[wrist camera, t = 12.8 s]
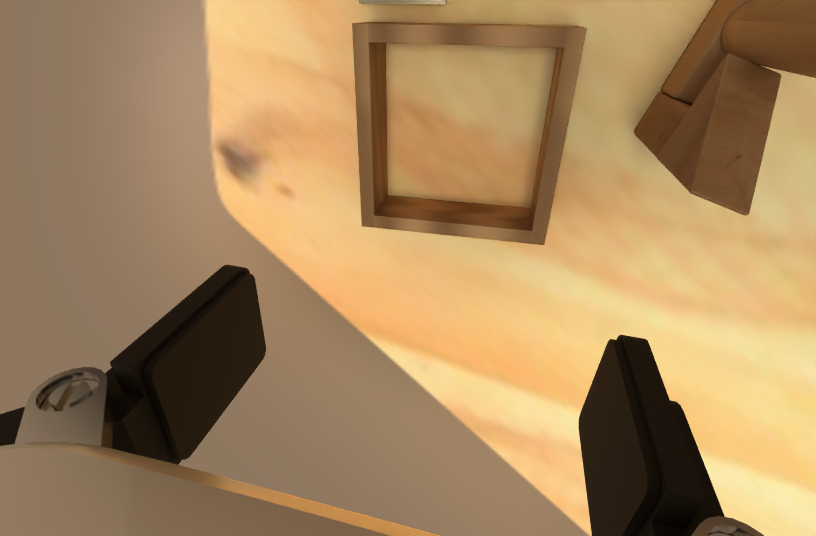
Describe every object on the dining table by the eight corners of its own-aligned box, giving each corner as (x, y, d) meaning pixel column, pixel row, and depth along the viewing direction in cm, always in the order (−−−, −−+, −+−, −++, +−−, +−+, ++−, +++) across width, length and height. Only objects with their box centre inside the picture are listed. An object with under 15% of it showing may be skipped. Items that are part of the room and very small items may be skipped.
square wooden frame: (577, 25, 33) (586, 28, 29) (541, 221, 42) (544, 245, 37) (371, 22, 36) (352, 23, 32) (376, 205, 44) (361, 226, 40)
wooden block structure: (631, 133, 36) (715, 221, 21) (722, -13, 30) (930, -35, 15) (671, 150, 36) (785, 250, 21) (771, 7, 30) (1028, 5, 15)
